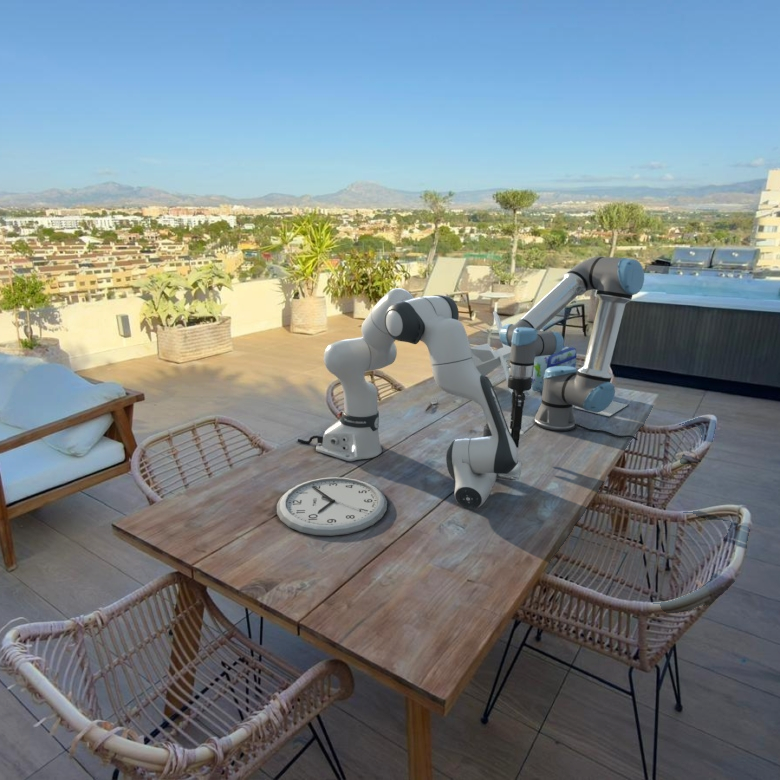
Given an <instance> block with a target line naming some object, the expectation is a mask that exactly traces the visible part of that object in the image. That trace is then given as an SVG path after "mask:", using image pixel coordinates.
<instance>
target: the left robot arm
mask: <svg viewBox="0 0 780 780" xmlns="http://www.w3.org/2000/svg"><path fill="white" fill-rule="evenodd" d="M459 317H460V313H459V308H458V305H457V303H456V302H455V300H454V299H453V298H451V297H450V296H448V295H444V294H443V295H442V294H434V295H426V296H418V297H415V298H414V296H413V295H412V293H410V292H409V291H408V290H406V289H404V288H399V287H398V288H397V287H396V288H393V289H391V290H389V291H387V293H385V294H384V295H383V296H382V297H381V298H380V299H379V300H378V301H377V303H376V304H374V306H373V308H371V310H370V311H369V313H368V315H367V316H366V317H365V319H364V320H363V322H362V323H361V328H360V330H361V337H355V338H354V337H353V338H348V339H341V340H337V341H335V342H333V343H330V344H328V345H327V346H326V347H325V349H324V352H323V363H324V366H325V368H326V370H327V371H329V373H330V374H332V375H333V376H335V378H337V379H338V381H339V383H340V385H341V388H342V392H343V404H344V405H343V407H344V408H343V409H342V410H340V411H339V413H337V417H336V418H339V420H337V421H336V422H335V423H333V424H332V425H330V426H329V427H328V428H326V430H322V431H321V432H320V433H319V434H316V435H312V436H310V437H309V439H308V440H304V439H300V438H298V439H297V442H298V443H301V444H306V445H307V444H308V445H309V444H311V443H312V441H313V440H314V439H317V441H316V442H317V444H316V447H315V452H318V453H322V454H324V455H328V456H331V457H334V458H337V459H340V460H343V461H347V462H353V461H357V460H367V459H372V458H376V457H377V456H379V455H380V454H381V453H382V452H383V449H382V445H381V441H380V433H379V427H380V412H379V410H378V409H379V407H378V406H379V405H378V404H379V401H378V400H379V398H378V397H379V394H378V393H379V392H378V389H377V387H376V386H375V385H374V384H373V383H371V382H370V381H368V380H366V378H365V372H371V371H376V370H380V369H383V368H386V367H388V366H390V365H392V364H394V362H395V361H396V359H397V354H398V350H397V346H396V343H395V342H396V341H398V342H404V343H409V344H412V345H417V344H418V343H419V342H422V343H423V344H425V346H426V347H427V350H428V354H429V355H428V356H429V360H430V361H429V362H430V367H431V372H432V376H433V379H434V382H435V384H436V385H437V387H439V389H441V390H442V391H444V392H445V393H448V394H449V395H451V396H456V397H460V398H465V399H467V400H470V401H473V402H474V403H476V404H477V405H478V406H480V408H481V409H482V411H483V414H484V417H485V420H486V422H487V423H488V425H489V428H490V431H491V434H492V436H487V437H484V436H478V437H463V438H455V439H454V440H453V441H452V442H451V443H450V445H449V447H448V449H447V452H446V455H445V460H446V467H447V471H448V473H449V475H450V476H451V478H452V480H453V481H454V482H455V483H454V493H453V494H454V500H455V501H456V502H457V504H458V505H460V506H461V507H463V508H464V509H469V510H473V509H478V508H481V506H483V505H484V504H485V503H486V502H487V499H488V498H489V496H490V494H491V492H492V489H493V487H494V485H495V483H496V481H497V480H502V481H507V482H515V481H516V480H519V479H520V477H521V473H522V466H523V463H522V462H521V461H519V450H518V448H517V447H516V445H515V442H514V440H513V438H512V436H511V434H510V431H509V429H508V428H509V426H508V424H507V421H506V418H505V415H504V412H503V410H502V406H501V405H500V402H499V399H498V396H497V394H496V391H495V388H494V386H493V384H492V382H491V380H490V378H489V377H488V376H487V375H486V376H484V375H482V374H481V373H480V372H479V371H478V370H477V368H476V366H475V364H474V361H473V357H472V351H471V347H472V346H471V344H470V340H469V337H468V334H467V331H466V329H465V326H464V324H463V323H462V322H461V321H460V320H459Z"/></svg>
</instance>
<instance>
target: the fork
mask: <svg viewBox="0 0 780 780" xmlns="http://www.w3.org/2000/svg"><path fill="white" fill-rule="evenodd" d="M438 401H439V398H438V397H435V396H433V398H432V399H431V401H430V404H429V405H428V406H427V408H426V409H425V412H427V411H428V410H429V409H431V408H432V406H433V405H437V404H438Z"/></svg>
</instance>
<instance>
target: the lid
mask: <svg viewBox="0 0 780 780" xmlns="http://www.w3.org/2000/svg"><path fill="white" fill-rule="evenodd" d="M508 429H509V431H510V434H511V429H510V427H508ZM524 432H525V431H524V430H522V429H521V430H520V437H519V440H522V439H523V438H524V436H525V435H524V434H525V433H524Z"/></svg>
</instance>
